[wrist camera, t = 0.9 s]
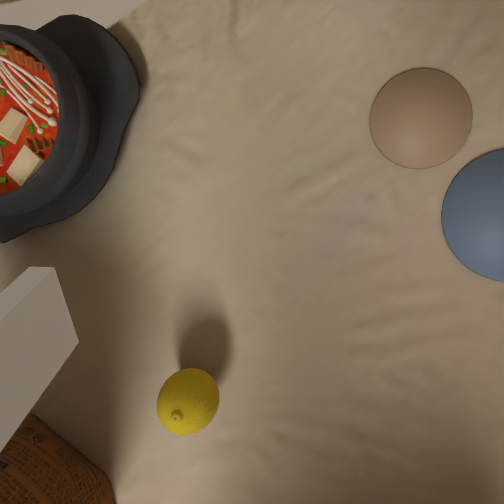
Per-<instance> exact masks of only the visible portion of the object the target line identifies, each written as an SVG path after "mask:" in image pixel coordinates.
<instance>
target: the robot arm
mask: <svg viewBox="0 0 504 504" xmlns="http://www.w3.org/2000/svg"><path fill="white" fill-rule="evenodd" d="M78 343H79V341H78V338H77V335H76V332H75V329H74V325H73V322H72V319H71V316H70V313H69V310H68V307H67V304H66V301H65V298H64V295H63V292H62V289H61V286H60V283H59V280H58V277H57V274H56V271H55V268H54V267H28V268H27V269H26V270H25V271H24V272H23V273H22V274H21V275H20V276H19V277H17V278H16V279H15V280H14V281H13V282H12V283H11V284H10V285H9V286H8V287H6V288H5V289H4V290H3V291H2V292H1V293H0V452H1V451H2V449H3V448H4V447H5V445H6V444H7V442H8V441H9V440H10V438H11V437H12V435H13V434H14V433H15V431H16V430H17V428H18V427H19V426H20V424H21V423H22V421H23V420H24V419H25V417H26V416H27V414H28V413H29V412H30V410H31V409H32V407H33V406H34V405H35V403H36V402H37V400H38V399H39V398H40V396H41V395H42V393H43V392H44V391H45V389H46V388H47V386H48V385H49V384H50V382H51V381H52V379H53V378H54V377H55V375H56V374H57V372H58V371H59V370H60V368H61V367H62V365H63V364H64V363H65V361H66V360H67V358H68V357H69V355H70V354H71V353H72V351H73V350H74V348H75V347H76V346H77V344H78Z"/></svg>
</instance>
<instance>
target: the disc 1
mask: <svg viewBox="0 0 504 504" xmlns="http://www.w3.org/2000/svg"><path fill="white" fill-rule="evenodd" d="M471 126H472V106H471V103H470V99H469V97H468V95H467V93H466V91H465V90H464V88H463V87H462V86H461V85H460V83H459V82H457V81H456V80H455V79H454V78H452V77H451V76H450V75H448V74H446V73H444V72H441V71H438V70H433V69H415V70H410V71H407V72H404V73H402V74H400V75H398V76H396V77H395V78H393V79H392V80H390V81H389V82H388V83H387V84H386V85H385V86H384V87H383V88H382V89H381V91H380V92H379V93H378V95H377V97H376V99H375V101H374V103H373V106H372V109H371V114H370V130H371V134H372V138H373V140H374V142H375V144H376V146H377V147H378V149H379V150H380V151H381V153H382V154H383V155H384V156H385V157H386V158H388V159H389V160H391V161H392V162H394V163H396V164H398V165H400V166H403V167H407V168H415V169H422V168H429V167H433V166H436V165H438V164H441V163H443V162H445V161H446V160H448V159H450V158H451V157H452V156H453V155H455V154H456V153H457V152H458V151H459V150H460V148H461V147H462V146H463V145H464V143H465V141H466V139H467V137H468V135H469V133H470V129H471Z"/></svg>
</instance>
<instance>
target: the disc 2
mask: <svg viewBox="0 0 504 504" xmlns="http://www.w3.org/2000/svg"><path fill="white" fill-rule="evenodd" d="M442 228H443V232H444V236H445V239H446V241H447V244H448V246H449V247H450V249H451V251H452V252H453V254H454V255H455V256H456V257H457V259H458V260H459V261H460V262H461V263H462V264H464V265H465V266H466V267H467V268H469V269H470V270H472V271H473V272H475V273H477V274H479V275H481V276H484V277H487V278H490V279H494V280H498V281H504V149H503V150H498V151H494V152H491V153H488V154H486V155H483V156H481V157H479V158H478V159H476V160H474V161H472V162H471V163H470V164H468V165H467V166H466V167H465V168H464V169H463V170H462V171H461V172H460V173H459V174H458V175H457V176H456V177H455V179H454V180H453V182H452V183H451V185H450V187H449V188H448V191H447V193H446V195H445V198H444V202H443V207H442Z"/></svg>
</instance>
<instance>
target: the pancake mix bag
mask: <svg viewBox="0 0 504 504" xmlns="http://www.w3.org/2000/svg"><path fill="white" fill-rule="evenodd" d="M0 504H114V499H113V492H112V485H111V483H110V482H109V480H108V478H107V476H106V475H105V473H104V472H103V471H102V470H100V469H99V468H98V467H97V466H96V465H94V464H93V463H92V462H91V461H89V460H88V459H87V458H86V457H84V456H83V455H82V454H81V453H80V452H78V451H77V450H76V449H75V448H74V447H72V446H71V445H70V444H68V443H67V442H66V441H65V440H63V439H62V438H61V437H59V436H58V435H57V434H56V433H54V432H53V431H52V430H51V429H50V428H49V427H48V426H47V425H45V424H44V423H43V422H42V421H41V420H40V419H39V418H37V417H36V416H35V415H34V414H29V413H28V414H27V416H26V417H25V419H24V420H23V421H22V423H21V424H20V426H19V427H18V428H17V430H16V431H15V433H14V434H13V435H12V437H11V438H10V440H9V441H8V442H7V444H6V445H5V447H4V448H3V449H2V451H1V452H0Z"/></svg>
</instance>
